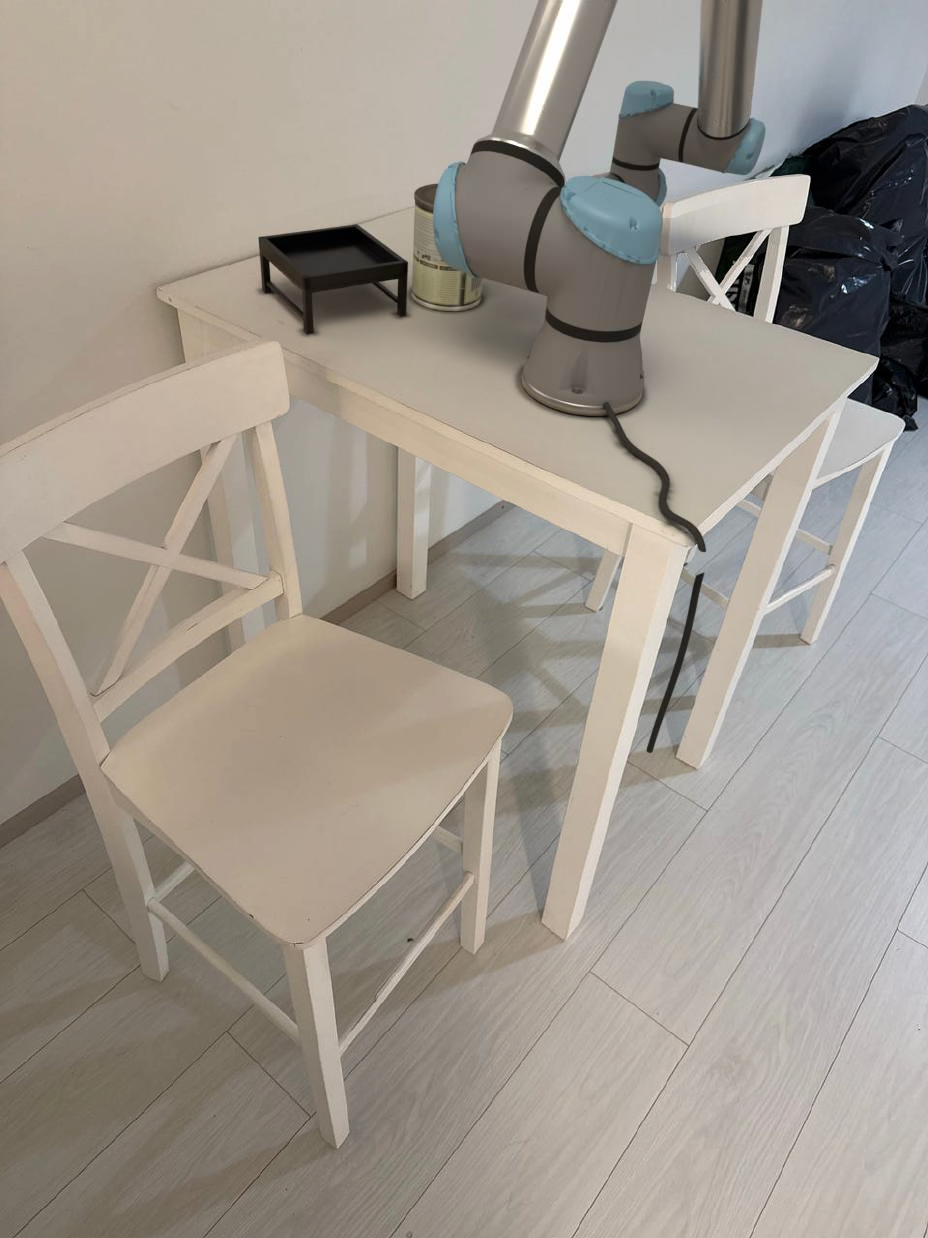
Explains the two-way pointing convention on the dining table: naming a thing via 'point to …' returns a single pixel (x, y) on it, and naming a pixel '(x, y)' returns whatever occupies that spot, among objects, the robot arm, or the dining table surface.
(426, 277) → the coffee can
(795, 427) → the dining table surface
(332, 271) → the stand
